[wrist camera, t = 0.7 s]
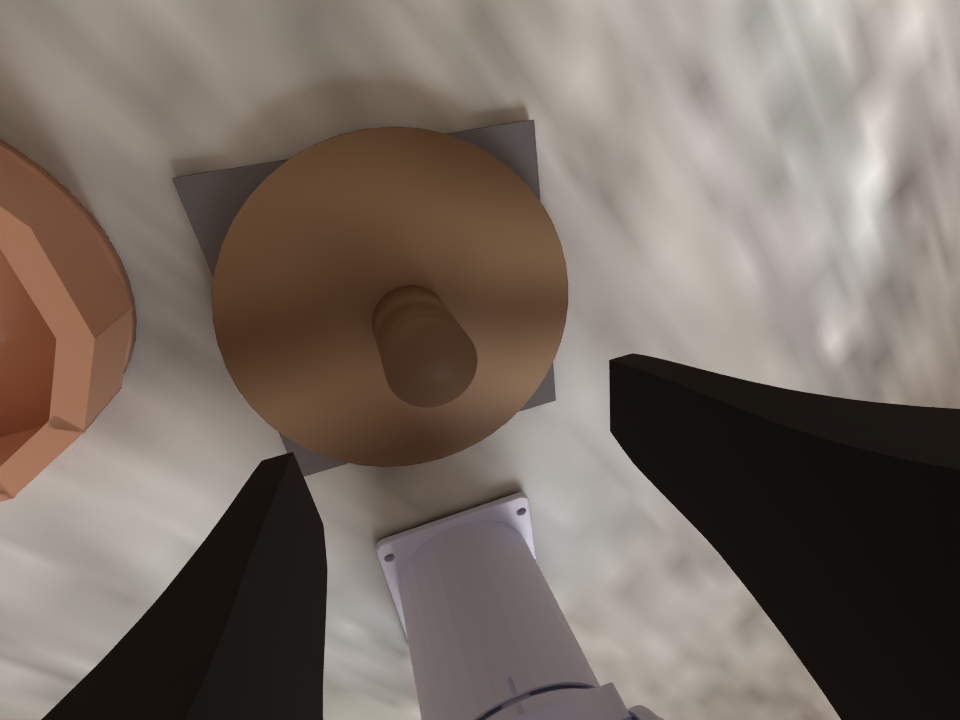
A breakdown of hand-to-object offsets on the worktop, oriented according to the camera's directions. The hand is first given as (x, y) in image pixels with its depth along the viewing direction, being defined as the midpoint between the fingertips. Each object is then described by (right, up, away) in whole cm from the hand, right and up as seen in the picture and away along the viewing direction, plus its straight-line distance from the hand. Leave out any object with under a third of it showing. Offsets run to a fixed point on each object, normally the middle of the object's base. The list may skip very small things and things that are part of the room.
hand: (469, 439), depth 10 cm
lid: (-3, +4, +8) cm, 9 cm away
